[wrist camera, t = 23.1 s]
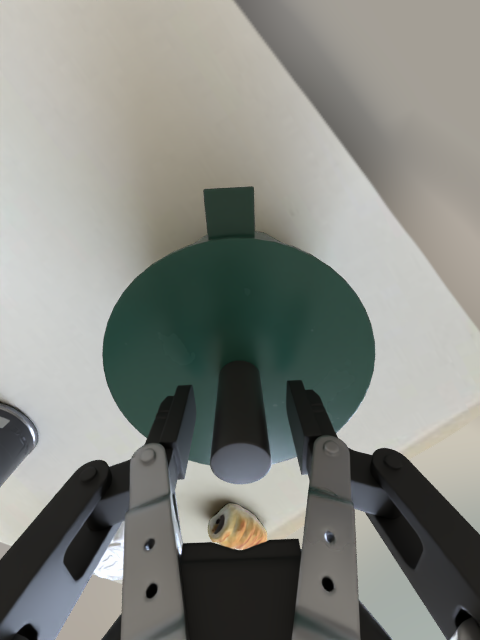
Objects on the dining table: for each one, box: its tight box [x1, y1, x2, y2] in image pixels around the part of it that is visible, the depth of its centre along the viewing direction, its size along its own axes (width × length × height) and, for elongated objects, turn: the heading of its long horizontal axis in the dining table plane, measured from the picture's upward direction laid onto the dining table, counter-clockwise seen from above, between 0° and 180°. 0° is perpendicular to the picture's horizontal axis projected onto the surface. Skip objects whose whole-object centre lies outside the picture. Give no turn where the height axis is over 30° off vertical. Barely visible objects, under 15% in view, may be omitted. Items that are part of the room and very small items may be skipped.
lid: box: [103, 237, 375, 484], centre depth 13 cm, size 16×16×7 cm
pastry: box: [208, 503, 267, 550], centre depth 39 cm, size 9×7×4 cm
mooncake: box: [93, 521, 125, 580], centre depth 41 cm, size 12×12×4 cm
